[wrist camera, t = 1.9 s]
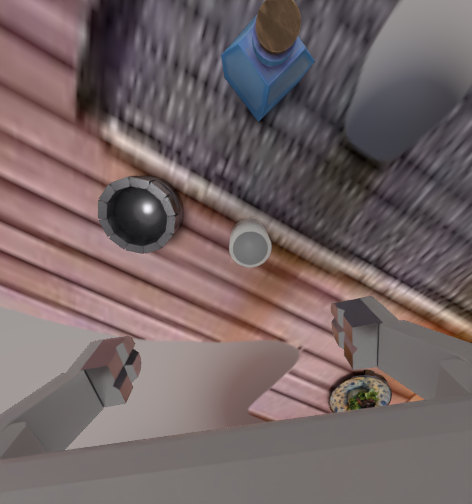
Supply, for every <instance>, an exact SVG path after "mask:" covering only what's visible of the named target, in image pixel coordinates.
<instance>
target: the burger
mask: <svg viewBox="0 0 472 504" xmlns="http://www.w3.org/2000/svg"><path fill="white" fill-rule="evenodd" d="M365 371H366V372H365V375H359V376H354V377H352V378H351V379H348V380H346V381H344V382H343V383H341V384H340V385H339V386H338V387H337V388H336V389H335V390H334V391H333V392H332V393H331V396H330V402H329V405H330V410H331V411H332V412H333V413H336V412H344V411H351V410H358V409H365V408H372V407H379V406H386V405H389V403H390V401H391V396H392V392H391V388H390V386H389V385H388V384H387V382H386V380H385V378H384V377H383V376H382V375H377V374H376V373H373V372H374V371H371V370H365Z"/></svg>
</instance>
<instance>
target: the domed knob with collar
mask: <svg viewBox="0 0 472 504" xmlns="http://www.w3.org/2000/svg"><path fill="white" fill-rule="evenodd" d="M99 199H100V200H98V218H99V219H101V220H99V222H100V224H101V225H102V227H103V229H104V231H105V233H106V235H107V237H108V236H110V238H109V239H110V240H112V241H113V242H115V243H116V244H117V245H119V246H120V247H121V248H123V249H125V248H126V250H127V251H132V252H137V253H142V254H143V253H144V252H145V254H146V253H149V252H152V251H155V250H159V249H161V248H163V247H164V245H165V244H166V243H167V242H168V241H169V240H170V238H171V237H172V236H173V235H174V234H175V233H176V231H177V230H178V229H179V227H180V225H181V223H182V220H183V214H184V211H183V204H182V201H181V198H180V196H179V194H178V193H177V191H176V190H175V189H174V188H173V187H172V186H171V185H170V184H169V183H168V182H166V181H164V180H163V179H160V178H158V177H155V176H130V177H126V178H123V179H120V180H117V181H114V182H112V183H111V184H108V186H107V187H106V189H105V190H104V192H103V193H102V195H101V196H100V198H99Z"/></svg>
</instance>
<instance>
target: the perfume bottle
mask: <svg viewBox="0 0 472 504" xmlns="http://www.w3.org/2000/svg"><path fill="white" fill-rule="evenodd" d="M300 25H301V18H300V12H299V9H298V7H297V4H296V3H295V2H294V1H293V0H266V1H265V2H264V3H263V4H262V6H261V7H260V9H259V11H258V14H257V15H256V16H255V17H254V19H253V20H252V21H251V22H250V23H249V24H248V25H247V26H246V28H245V29H244V30H243V31H242V32H241V33H240V34H239V35H238V37H237V38H236V39H235V40H234V41H233V42H232V43H231V44H230V46H229V47H228V48H227V49H226V50H225V51H224V52H223V54H222V55H221V58H222V64H223V71H224V77H225V79H226V80H227V81H228V83H229V84H230V85H231V87H232V88H233V89H234V90H235V92H236V93H237V94H238V96H239V97H240V98H241V100H242V101H243V102H244V104H245V105H246V106H247V108H248V109H249V110H250V112H251V113H252V114H253V115H254V117H255V118H256V119H257V121H258V122H259V121H260V120H261V119H262V118H263V117H264V116H265V115H266V114H267V113H268V112H269V111H270V110H271V109H272V108H273V107H274V106H275V105H276V104H277V103H278V102H279V101H280V100H281V99H282V98H283V97H284V96H285V95H286V94H287V93H288V92H289V91H290V90H291V89H292V88H293V87H294V86H295V85H296V84H297V83H298V82H299V81H300V80H301V79H302V77H303V76H304V75H305V73H306V72H307V71H308V70H309V68H310V67H311V66H312V64H313V63H314V62H315V61H314V59H313V58H312V56H311V54H310V53H309V51H308V50H307V48H306V47H305V45H304V43H303V42H302V40H301V39H300V37H299V36H298V34H299V31H300Z"/></svg>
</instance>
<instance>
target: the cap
mask: <svg viewBox="0 0 472 504" xmlns="http://www.w3.org/2000/svg"><path fill="white" fill-rule="evenodd" d="M229 252H230V255H231V257H232V259H233V260H234V261H235V262H236V263H237V264H239V265H241V266H244V267H256V266H259V265H261V264H263V263H264V262H265V261H266V260H267V259H268V257H269V256H270V253H271V241H270V239H269V236H268V234H267V231H266V229H265V227H264V226H263V224H262V223H260V222H259V221H257V220H255V219H249V218H248V219H243V220H240V221H239V222H237V223H236V224H235V225H234V226H233V228H232V230H231V234H230V243H229Z"/></svg>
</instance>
